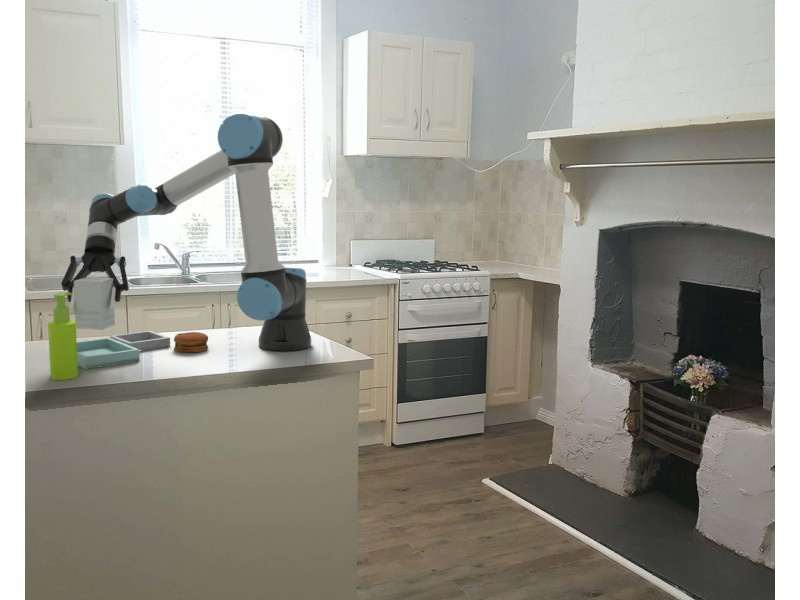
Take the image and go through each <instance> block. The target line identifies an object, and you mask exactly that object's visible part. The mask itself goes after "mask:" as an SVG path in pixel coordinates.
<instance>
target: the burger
mask: <svg viewBox="0 0 800 600" xmlns="http://www.w3.org/2000/svg"><path fill="white" fill-rule="evenodd" d="M173 341H174V343H175V344H174V347H173V350H175V351H174V352H176V351H177V353H190V354H191V353H202V352H206V351H208V350H207V349H209V346H208V344H207V343H208V341H209V336H208V335H207V334H205V333H203V332H199V331H190V332H181V333H177V334H175V336H174V337H173Z"/></svg>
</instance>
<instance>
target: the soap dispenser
mask: <svg viewBox="0 0 800 600" xmlns="http://www.w3.org/2000/svg"><path fill="white" fill-rule="evenodd" d="M71 294H72V293H68V291H66V292H65V291H63V292H62V291H61V292H58V293H56V294H54V295H53V297H54V298H56V306H55V307H54V308H53V321H50V322H49V321H48V323H47V326H48V327H47V328H48V329H47V330H48V347H49V348H48V349H49V350H48V351H49V352H48V353H49V367H50V368H49V371H50V379H51V380H55V381H67V380H73V379H75V378H78V376H79V371H78V370H79V369H78V368H79V366H78V364H77V342H78V341H77V329H76V322H75V320H71V317H70V315H71V314H70V313H71V312H70V306H68V305H66V297H67V295H71Z"/></svg>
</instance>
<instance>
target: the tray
mask: <svg viewBox="0 0 800 600" xmlns="http://www.w3.org/2000/svg"><path fill="white" fill-rule="evenodd" d="M140 359H141V358H140V351H139V349H137V348H134V347H132V346H129V345H127V344H124V343H122V342H119V341H117V340H114V339H111V338H110V337H104V338H97V339H88V340H82V341H81V340H80V341H77V364H78V367H79V366H80V368H82V369H83V370H90V369H89V368H91V369H96V368H95V367H98V368H101V367H100V366H104V367H107V366H106V365H110V366H114V365H113V364H116V365H121V364H120V363H122V364H127V363H126V362H129V363H133V362H132V361H135V362H140V361H141V360H140Z"/></svg>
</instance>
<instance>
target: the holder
mask: <svg viewBox="0 0 800 600" xmlns="http://www.w3.org/2000/svg"><path fill="white" fill-rule="evenodd" d="M109 338H111V339H114V340H117V341H119V342H122V343H124V344H127V345H129V346H132V347H134V348H137V349H139V350H142V351H146V350H147V351H149V350H154V349H155V348H156V349H160V348H161V347H162V348H167V347H166V346H169V347H171V337H169V336H166V335H163V334H162V333H161V334H160V333H157V332H155V331H153V330H145V331H137V332H129V333H121V334H114V335H109ZM162 348H161V349H162ZM148 349H149V350H148Z"/></svg>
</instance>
